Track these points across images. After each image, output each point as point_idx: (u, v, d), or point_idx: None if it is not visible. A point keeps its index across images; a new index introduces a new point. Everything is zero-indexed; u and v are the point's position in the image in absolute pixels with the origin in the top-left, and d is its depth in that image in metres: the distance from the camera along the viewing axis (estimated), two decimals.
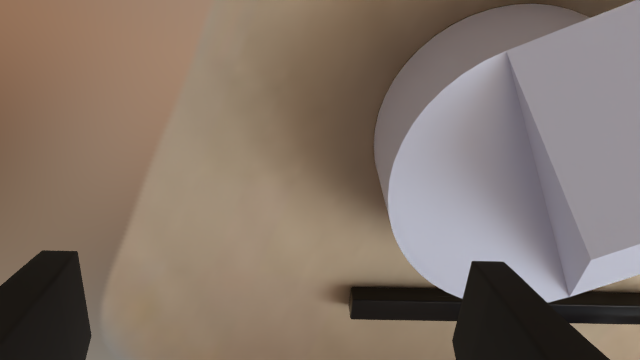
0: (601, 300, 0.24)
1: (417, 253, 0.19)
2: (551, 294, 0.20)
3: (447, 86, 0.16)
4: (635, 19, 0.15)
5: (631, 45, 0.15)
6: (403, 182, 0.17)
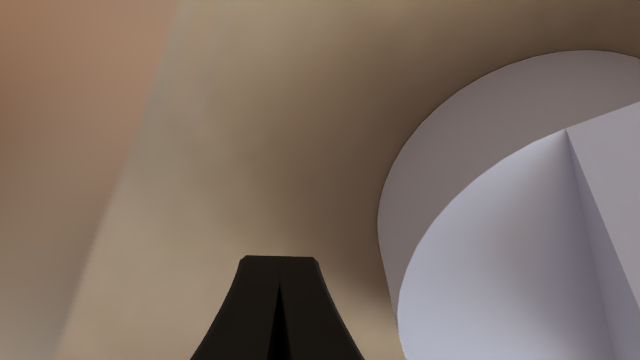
0: None
1: None
2: None
3: (481, 174, 0.12)
4: None
5: None
6: (418, 293, 0.13)
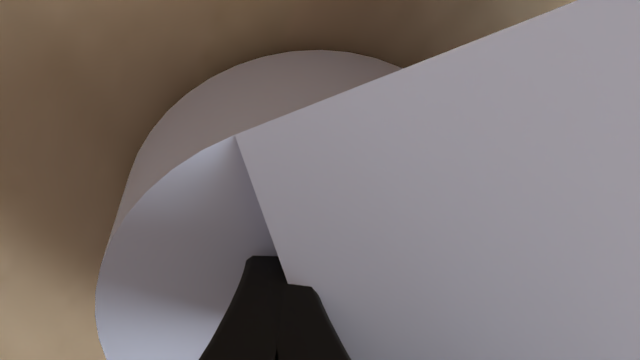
0: None
1: None
2: None
3: (152, 186, 0.10)
4: (423, 90, 0.10)
5: (417, 131, 0.10)
6: (118, 318, 0.12)
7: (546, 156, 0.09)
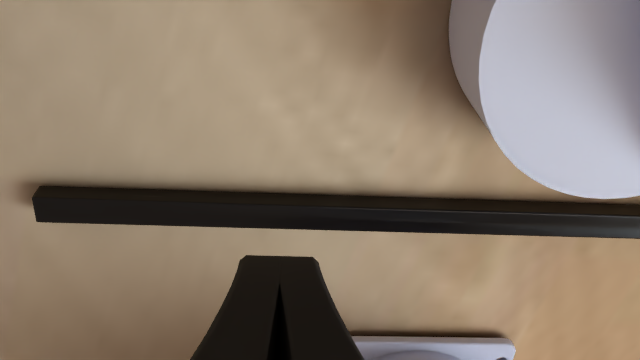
0: (330, 202, 0.21)
1: (505, 129, 0.17)
2: None
3: None
4: None
5: None
6: (499, 38, 0.15)
7: None
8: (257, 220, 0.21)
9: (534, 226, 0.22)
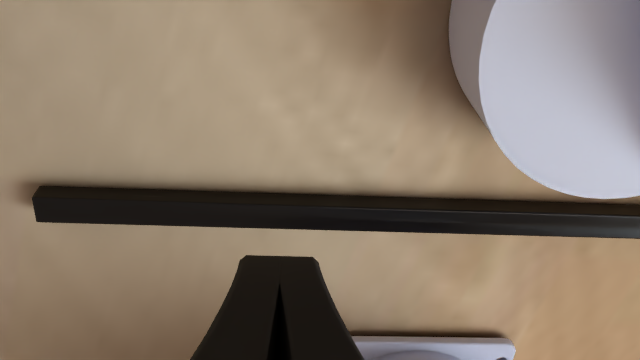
0: (330, 202, 0.21)
1: (505, 129, 0.17)
2: None
3: None
4: None
5: None
6: (499, 38, 0.15)
7: None
8: (257, 220, 0.21)
9: (534, 226, 0.22)
